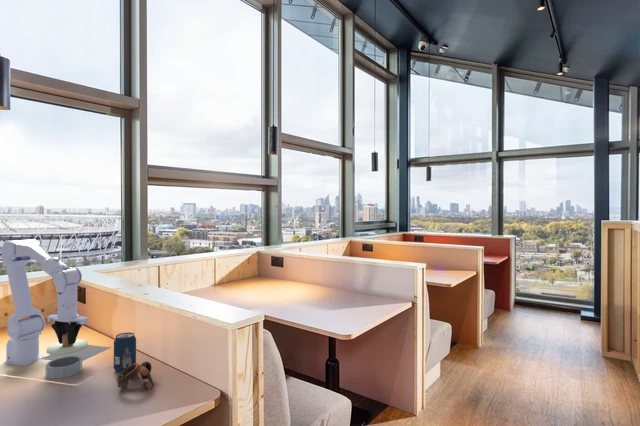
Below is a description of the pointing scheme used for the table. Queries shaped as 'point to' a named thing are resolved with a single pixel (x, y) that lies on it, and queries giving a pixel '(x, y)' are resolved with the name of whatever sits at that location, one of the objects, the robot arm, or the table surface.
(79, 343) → the lid
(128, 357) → the soda can
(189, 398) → the table surface
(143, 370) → the brown lumpy object
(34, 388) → the table surface
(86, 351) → the mat
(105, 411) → the table surface
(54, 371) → the bowl
